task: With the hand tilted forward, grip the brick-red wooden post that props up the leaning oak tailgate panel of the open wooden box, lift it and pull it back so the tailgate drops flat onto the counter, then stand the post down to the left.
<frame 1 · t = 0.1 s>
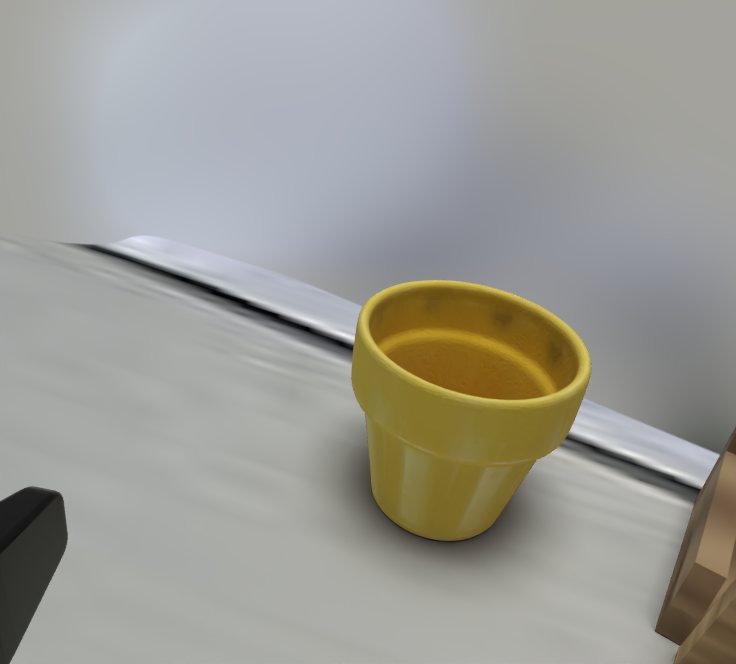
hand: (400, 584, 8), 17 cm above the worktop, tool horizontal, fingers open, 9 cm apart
plant pot: (431, 495, 34), on the worktop
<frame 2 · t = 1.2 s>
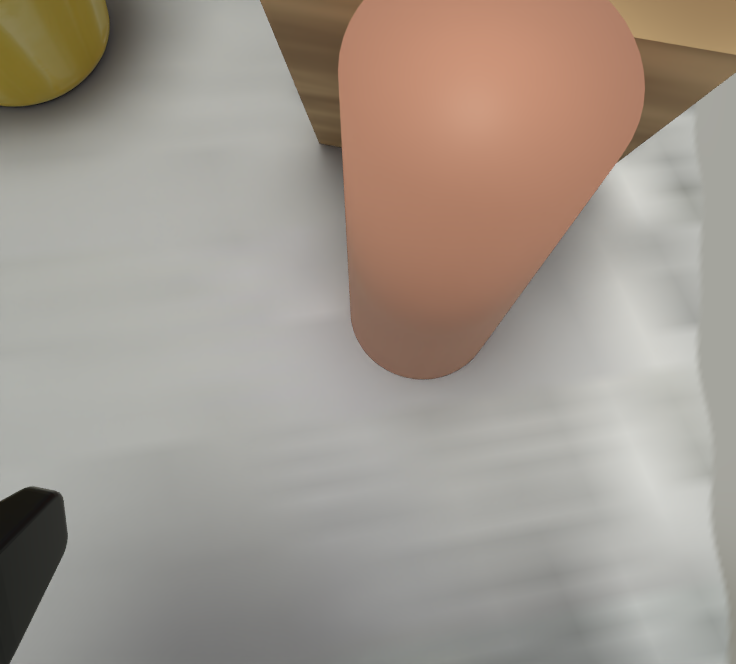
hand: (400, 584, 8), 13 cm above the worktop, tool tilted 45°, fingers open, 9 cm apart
post: (420, 310, 23), on the worktop
tailgate: (450, 153, 25), on the worktop
plant pot: (27, 42, 26), on the worktop
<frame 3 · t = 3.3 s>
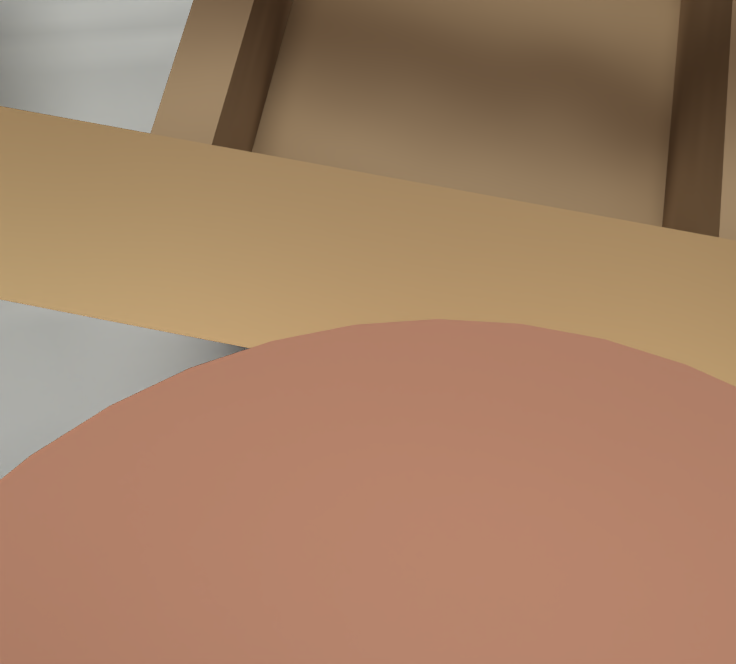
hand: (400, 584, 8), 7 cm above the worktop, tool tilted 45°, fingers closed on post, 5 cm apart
open wooden box: (485, 28, 15), on the worktop
post: (375, 594, 14), on the worktop, touching gripper
tailgate: (426, 323, 16), on the worktop
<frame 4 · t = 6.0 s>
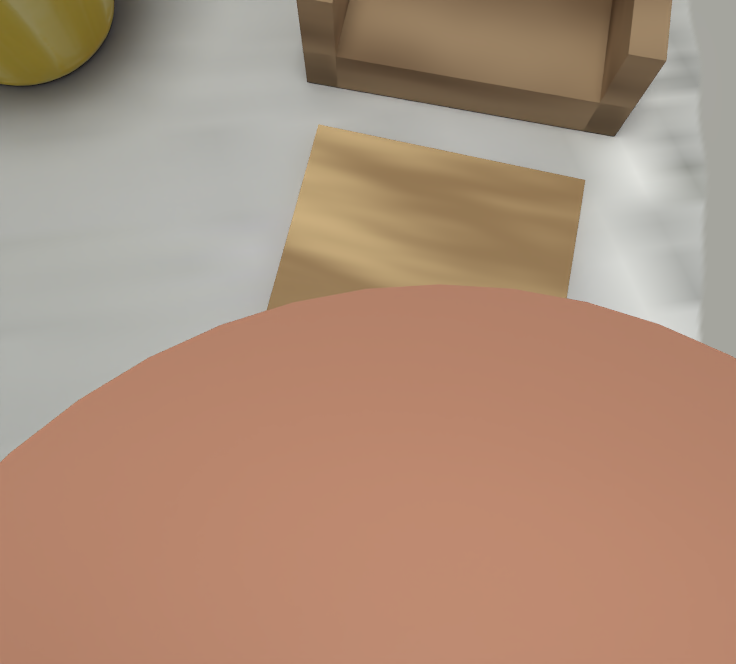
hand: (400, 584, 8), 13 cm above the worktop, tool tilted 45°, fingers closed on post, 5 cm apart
post: (372, 611, 14), point 7 cm above the worktop, touching gripper
tailgate: (449, 157, 25), on the worktop, tilted 75°
plant pot: (32, 22, 26), on the worktop
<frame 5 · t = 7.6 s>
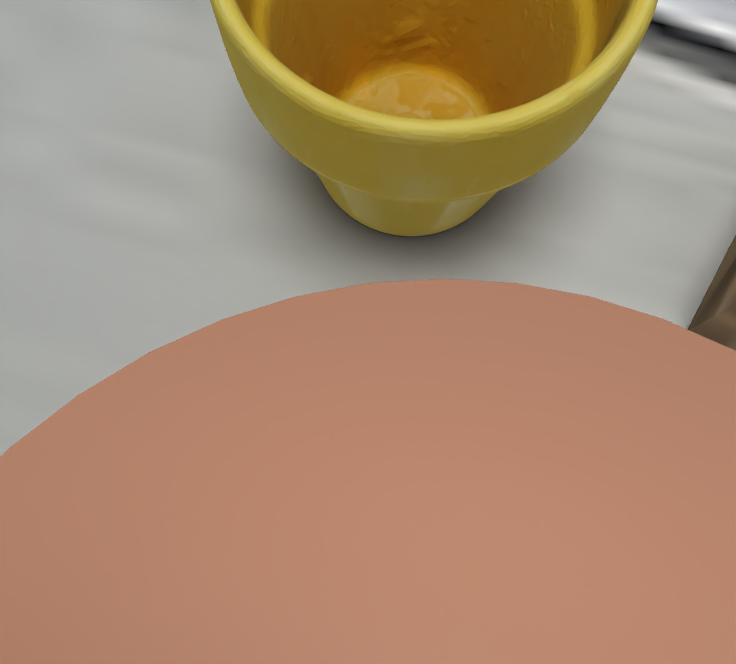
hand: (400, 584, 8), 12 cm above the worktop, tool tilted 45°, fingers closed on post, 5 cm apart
post: (372, 610, 14), point 6 cm above the worktop, touching gripper
plant pot: (405, 158, 24), on the worktop
when the fingers open (8 cm above the worktop, at t = 8.7 s): post stays where it is, on the worktop.
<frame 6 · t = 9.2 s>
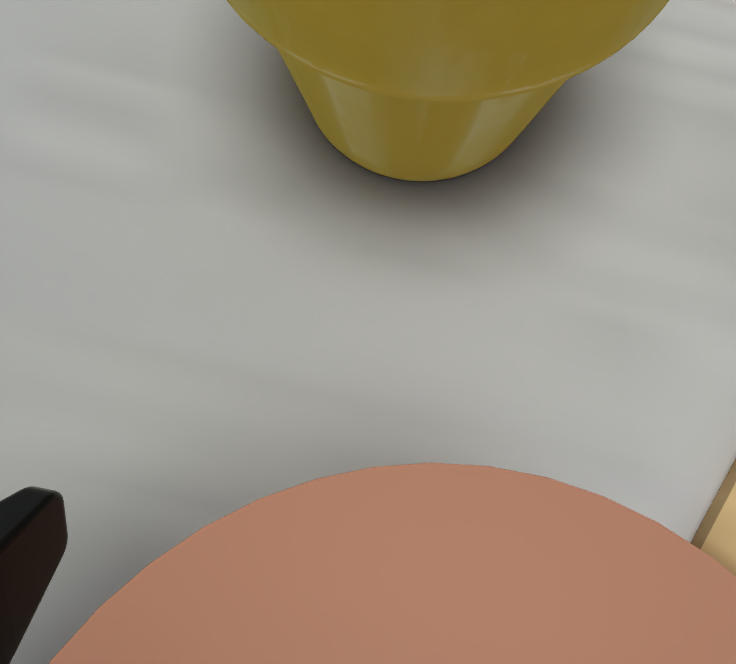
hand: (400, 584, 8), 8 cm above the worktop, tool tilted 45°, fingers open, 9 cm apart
post: (368, 612, 16), on the worktop
plant pot: (414, 89, 20), on the worktop
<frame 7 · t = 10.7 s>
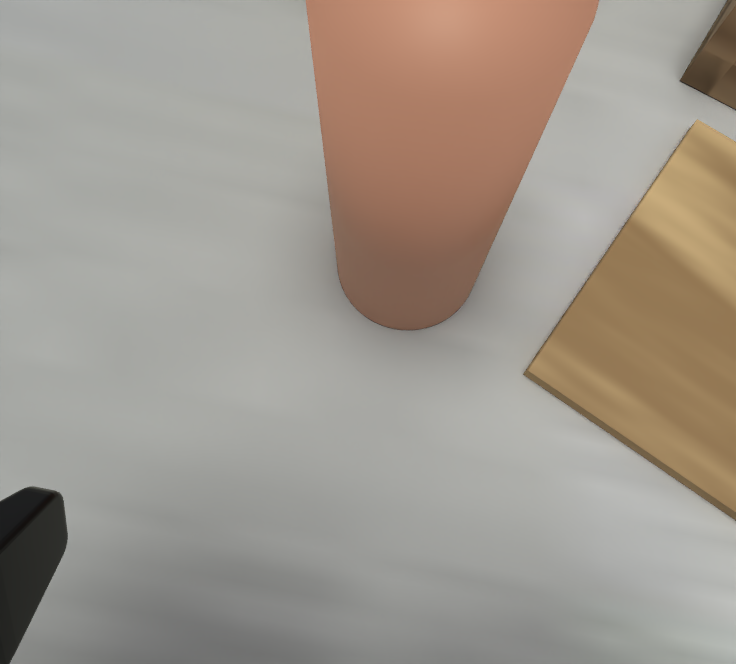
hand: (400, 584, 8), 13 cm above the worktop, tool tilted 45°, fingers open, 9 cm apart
post: (406, 263, 24), on the worktop
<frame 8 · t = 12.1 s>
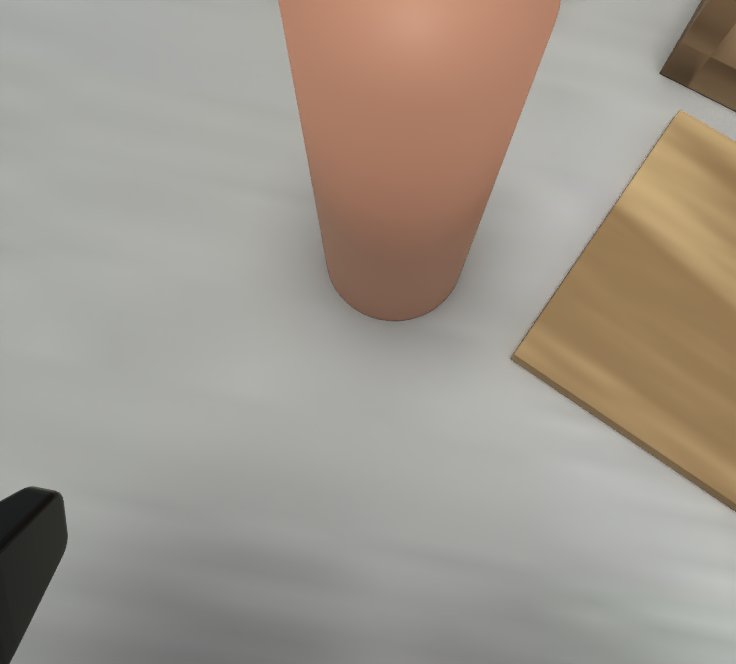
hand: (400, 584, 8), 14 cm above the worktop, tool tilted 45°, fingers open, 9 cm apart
post: (394, 255, 24), on the worktop
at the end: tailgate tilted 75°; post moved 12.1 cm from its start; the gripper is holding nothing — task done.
